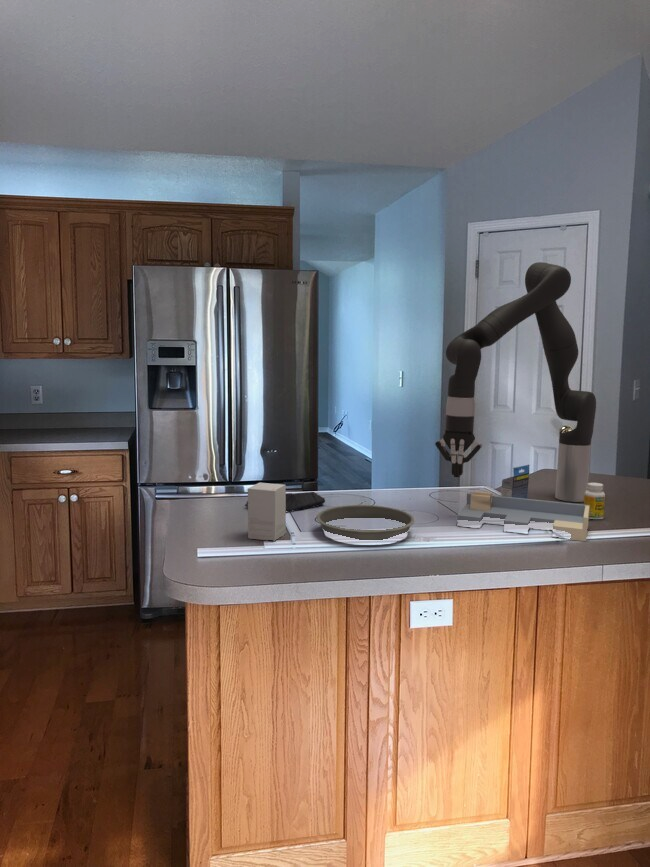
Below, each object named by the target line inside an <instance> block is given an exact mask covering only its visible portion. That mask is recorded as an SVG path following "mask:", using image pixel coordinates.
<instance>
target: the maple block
mask: <svg viewBox="0 0 650 867" xmlns="http://www.w3.org/2000/svg"><path fill="white" fill-rule="evenodd" d="M471 493H472V494H471V501H470V510H479V511H490V509H491V508H492V495H493V492H486V491H476V490H475V491H473V492H471Z"/></svg>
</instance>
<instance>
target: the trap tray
mask: <svg viewBox="0 0 650 867" xmlns="http://www.w3.org/2000/svg"><path fill="white" fill-rule="evenodd" d="M472 493H473V492H467V493H466V504H465V505H464V506H463V508H462V509H461V510H460V511H459V512H458V514H457V515H456V516H457V517H456V521H457V520H468V521H479V522H480V521H481V520H482V519H483V517H490V518H500V519H505V520H504V524H515V525H528V524H529V523H530V521H535V522H547V523H548V522H549V523H554V524H553V529H556V530H561V531H565V532H568V533H570V534H571V538H570V539H571V541H577V542H586V541H587V538H588V530H589V520H590V519H589V506H590V505H584V503H583V504H581V503H574V502H561V501H552V500H541V499H533V498H527V499H523V498H513V497H503V496H501V495H493V494H492V508H491V509H490V511H479V510H470V501H471V494H472ZM587 529H588V530H587ZM586 537H587V538H586Z"/></svg>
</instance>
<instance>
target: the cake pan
mask: <svg viewBox="0 0 650 867" xmlns="http://www.w3.org/2000/svg"><path fill="white" fill-rule="evenodd" d="M344 518H385V519H391V520H396V521H399V522H402V523H405V524H406V525H405V526H402V527H398V528H393V529H386V530H354V529H345V528H340V527H336V526H332V525H329V524H326V522H329V521H332V520H337V519H344ZM315 519H316V521H317V522H318V523H319V524H320V525H321V526H320V527H321V529H322V528H323V529H324V530H325V531H327V532H330V533H333V534H338V535H342V536H346V537H350V538H355V539H359V540H383V539H388V538H390V537H393V536H396V535H399V534H402V533H405V532H407V531H408V530H409V531H410V527H411V526H413V525H414V523H415V521H416V520H415V517H414V516H413V515H412V514H411V513H409V512H406V511H404V510H401V509H399V508H398V509H397V508H393V507H390V506H382V505H370V504H350V505H349V504H347V505H340V506H339V505H338V506H334V507H330V508H326V509H324V510H321V511H320V512H318V513H317V515H316V517H315Z"/></svg>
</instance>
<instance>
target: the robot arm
mask: <svg viewBox="0 0 650 867" xmlns="http://www.w3.org/2000/svg"><path fill="white" fill-rule="evenodd" d="M525 272H526V273H525V277H524V285H525V289H526V294H524V295H522V296H521V297H519V298H517V299H515V300H512V301H510V302H507V303H506V304H502V305H501V306H499V307H497V308H495V309H494V310H492V311H491V312H490V313H489V314H487V315H486V316H485V317H483V318H482V319H481V320H480V321H479V322H477V324H475V325H474V326H472V327H470V328H469V329H467V330H465V331H464V332H462V333H461V334H459V335H457V336H456V337H454V338H453V339H452V340H451V341H449V343H448V345H447V347H446V349H445V357H446V359H447V361H449V363H450V364H453V365H455V371H454V373H453V375H451V376H450V377H449V379H448V387H447V399H446V400H447V401H446V406H445V428H444V434H443V435H442V438H441V439H439V440H437V441H436V442H435V443H434V445H435V446H436V448H437V449H438V451H439V453H440V454H441V455H442V457H443V458H444V460H445V461H448V462H451V475H452V476H453V477H454V478H460V477H461V476H462V475H463V473H464V464H465V463H468V462H471V460H472V459H473V457H475V455H476V454H478V452H479V451H480V450H481V449H482V447H483V444H482V443H479V442H477V440H476V438H475V434H474V427H475V412H476V411H475V408H476V407H475V406H476V405H475V394H476V393H475V392H476V390H475V389H476V380H477V376H478V373H479V370H480V366H481V362H482V361H481V360H482V349H483V348H487V347H491V346H493V345H494V344H496V342H498V341H499V340H501V338H503V337H504V336H505V335H506V334H507V333H509V332H511V330H512V329H514V328H515V327H517V326H518V325H519V324H521V323H522V322H524V321H525V320H527V319H529V317H531V316H533V315H535V319H536V322H537V326H538V330H539V333H540V338H541V342H542V348H543V352H544V356H545V359H546V364H547V366H548V371H549V375H550V376H549V377H550V381H551V388H552V395H553V402H554V408H555V412H556V415H557V416H558V418H559V419H561V420H564V421H569V422H570V421H571V422H577V423H576V426H575V428H573V429H571V430H567V431H563V432H561V433H560V434H559V437H558V449H557V451H558V452H557V464H556V465H557V466H556V467H557V468H556V483H555V495H554V496H555V497H554V498H555V499H557V500H560V501H564V502H568V503H584V495H585V492H586V491H587V490H589V489H588V488H587V487H588V483H589V476H590V475H589V474H590V460H591V447H592V445H591V444H592V438H593V435H594V428H595V426H594V425H595V418H596V410H597V398H596V395H595V394H594V393H593V392H592V391H587V390H586V391H585V390H574V389H571V388H570V384H569V377H570V375H571V372H572V370H573V368H574V366H575V365H576V363H577V360H578V358H579V347H578V341H577V338H576V337H577V336H576V334H575V330H574V329H573V326H572V325H571V323H570V322H569V321H568V319H567V318H566V316H565V315H564V313H563V312H562V310H561V309H560V307H559V305H558V303H557V300H559V299H560V298H561V299H562V297H563V296H564V295H565V294H566V293H567V292H568V291H569V290H570V286H571V283H572V275H571V273H570V271H569V270H568V269H567V268H565V267H564V266H561V265H559V264H552V263H548V262H544V261H543V262H539V261H538V262H534V263H532V264H530V266H529V267H528V268H527V270H526V271H525ZM446 445H447V447H448V449H449V450H450V453H449V451H448V449H447V448H446ZM470 447H471V449H472V450H471V451H470V452H469V454H468V455H466V451H467V450H468V449H469V448H470ZM465 455H466V457H465Z"/></svg>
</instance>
